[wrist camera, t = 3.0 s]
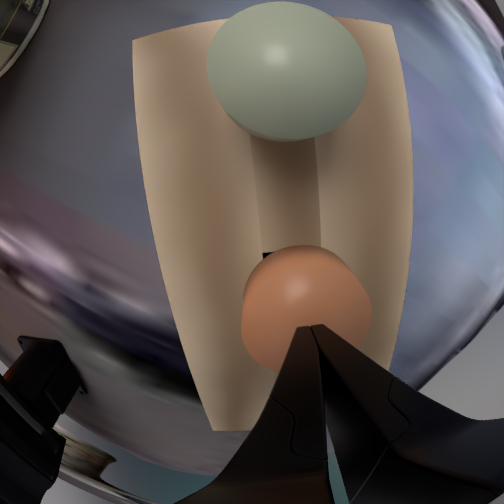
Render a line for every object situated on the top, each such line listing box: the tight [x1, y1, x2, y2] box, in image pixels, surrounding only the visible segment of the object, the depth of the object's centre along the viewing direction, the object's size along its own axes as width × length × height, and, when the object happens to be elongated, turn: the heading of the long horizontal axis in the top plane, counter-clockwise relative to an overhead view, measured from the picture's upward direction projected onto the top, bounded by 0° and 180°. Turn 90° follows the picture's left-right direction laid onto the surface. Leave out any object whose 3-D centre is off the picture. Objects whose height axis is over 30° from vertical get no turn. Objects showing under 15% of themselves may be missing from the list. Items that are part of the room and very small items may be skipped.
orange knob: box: [241, 245, 372, 373], centre depth 11 cm, size 4×4×5 cm
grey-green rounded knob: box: [207, 2, 367, 142], centre depth 8 cm, size 4×4×5 cm
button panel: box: [133, 16, 413, 431], centre depth 14 cm, size 12×24×3 cm, turn 6°
